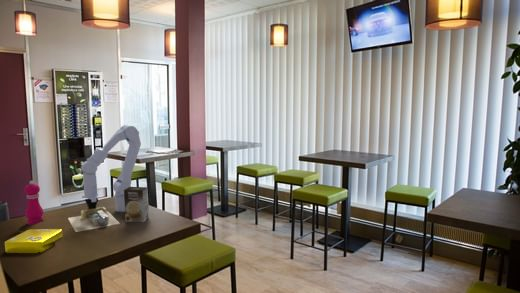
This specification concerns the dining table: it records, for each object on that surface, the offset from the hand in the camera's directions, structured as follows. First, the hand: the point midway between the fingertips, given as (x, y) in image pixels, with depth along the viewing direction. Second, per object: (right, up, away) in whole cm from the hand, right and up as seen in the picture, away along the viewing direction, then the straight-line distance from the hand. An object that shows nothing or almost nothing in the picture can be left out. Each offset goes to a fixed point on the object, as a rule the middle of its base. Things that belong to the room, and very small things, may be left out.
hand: (92, 213), depth 177 cm
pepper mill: (-24, -3, -6) cm, 25 cm away
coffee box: (+24, -3, -7) cm, 26 cm away
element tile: (-7, -7, -33) cm, 35 cm away
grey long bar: (+8, -2, -9) cm, 12 cm away
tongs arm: (+5, -2, -9) cm, 11 cm away
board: (+4, -3, -8) cm, 10 cm away
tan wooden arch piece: (+2, -1, -3) cm, 4 cm away
